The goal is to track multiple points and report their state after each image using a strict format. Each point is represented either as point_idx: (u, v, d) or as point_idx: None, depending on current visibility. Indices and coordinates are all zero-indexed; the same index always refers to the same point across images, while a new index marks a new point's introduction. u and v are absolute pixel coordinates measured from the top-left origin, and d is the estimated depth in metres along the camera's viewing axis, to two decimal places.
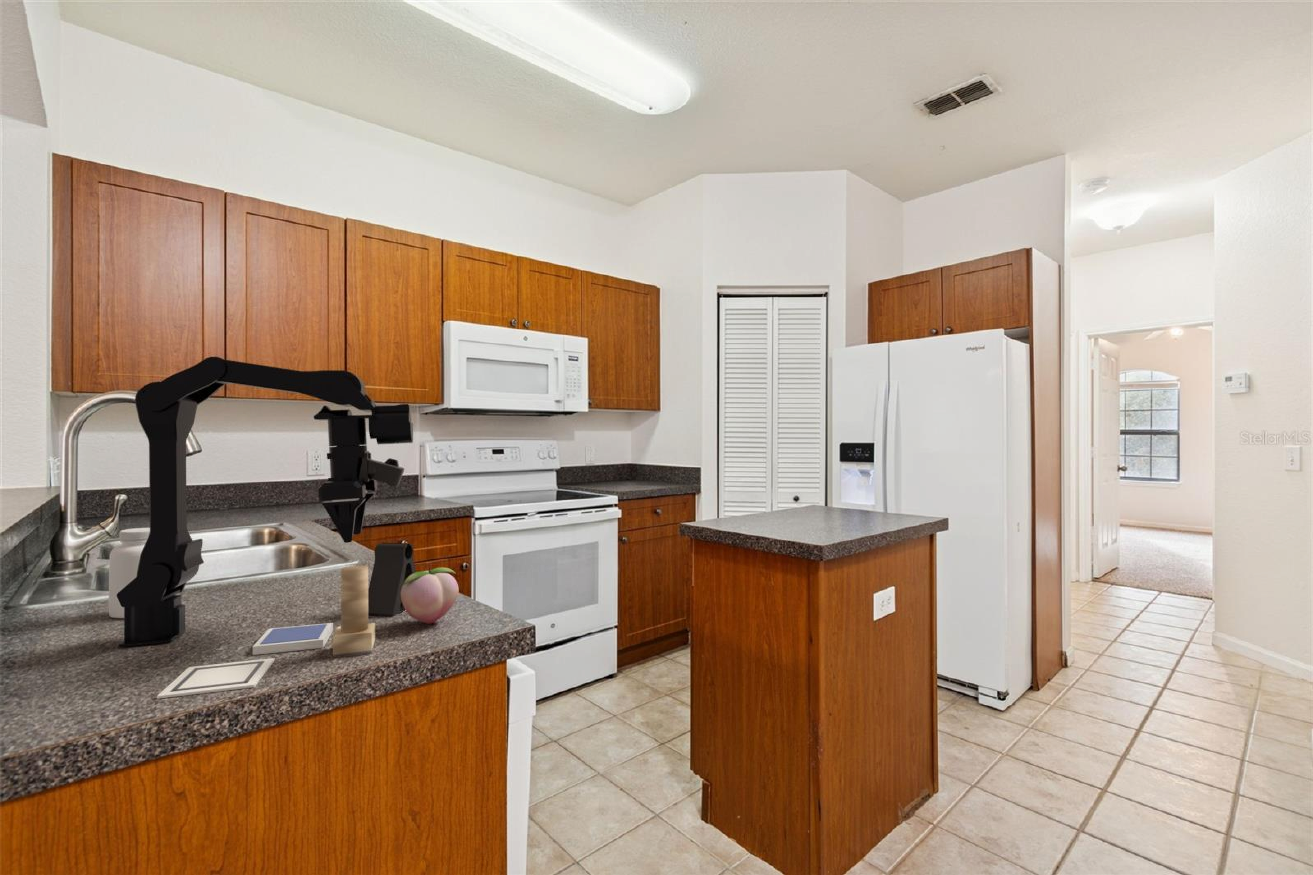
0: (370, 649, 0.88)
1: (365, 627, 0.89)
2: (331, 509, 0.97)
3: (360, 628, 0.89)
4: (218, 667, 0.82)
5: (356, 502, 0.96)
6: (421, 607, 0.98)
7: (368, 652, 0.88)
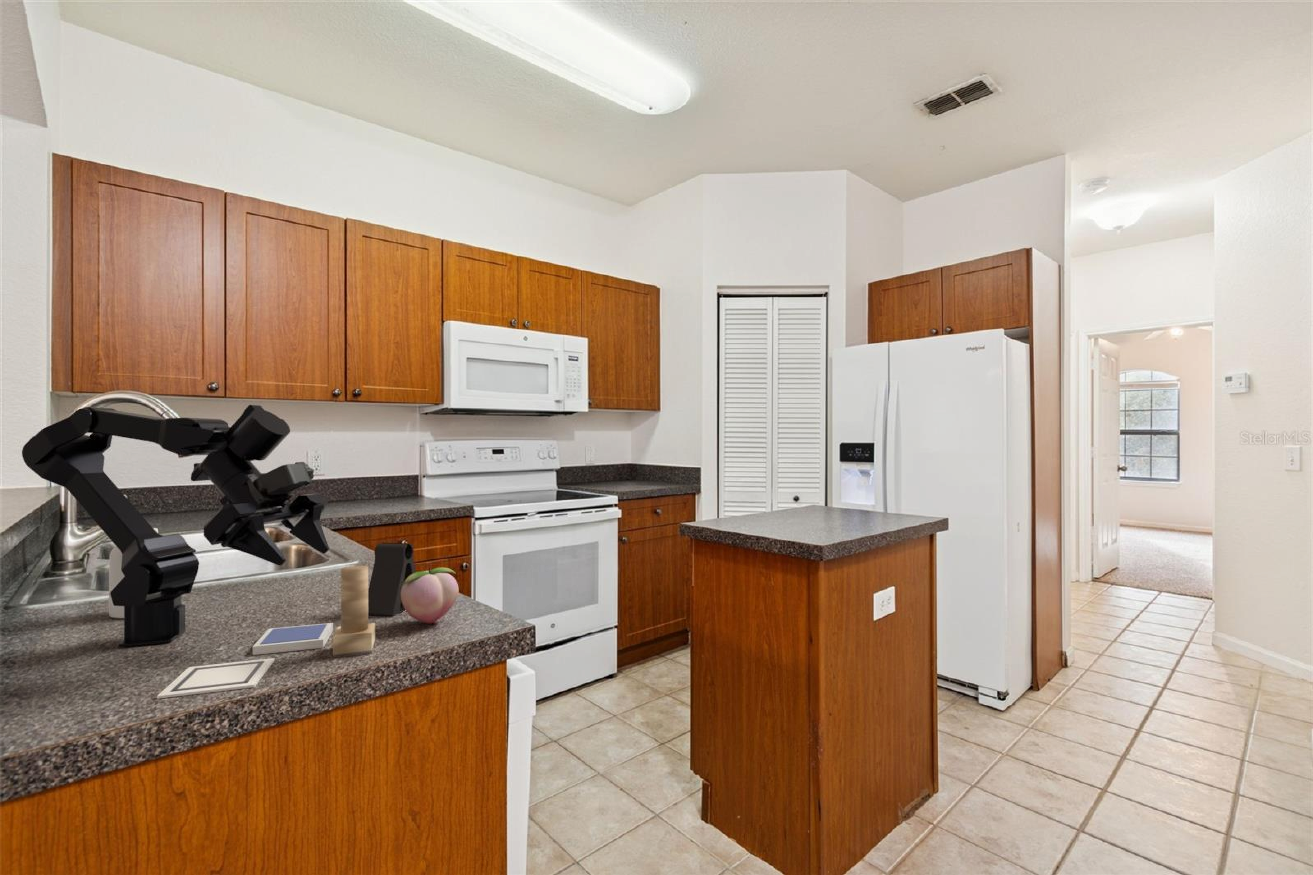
0: (370, 649, 0.88)
1: (365, 627, 0.89)
2: (239, 545, 0.85)
3: (360, 628, 0.89)
4: (218, 667, 0.82)
5: (243, 522, 0.84)
6: (421, 607, 0.98)
7: (368, 652, 0.88)
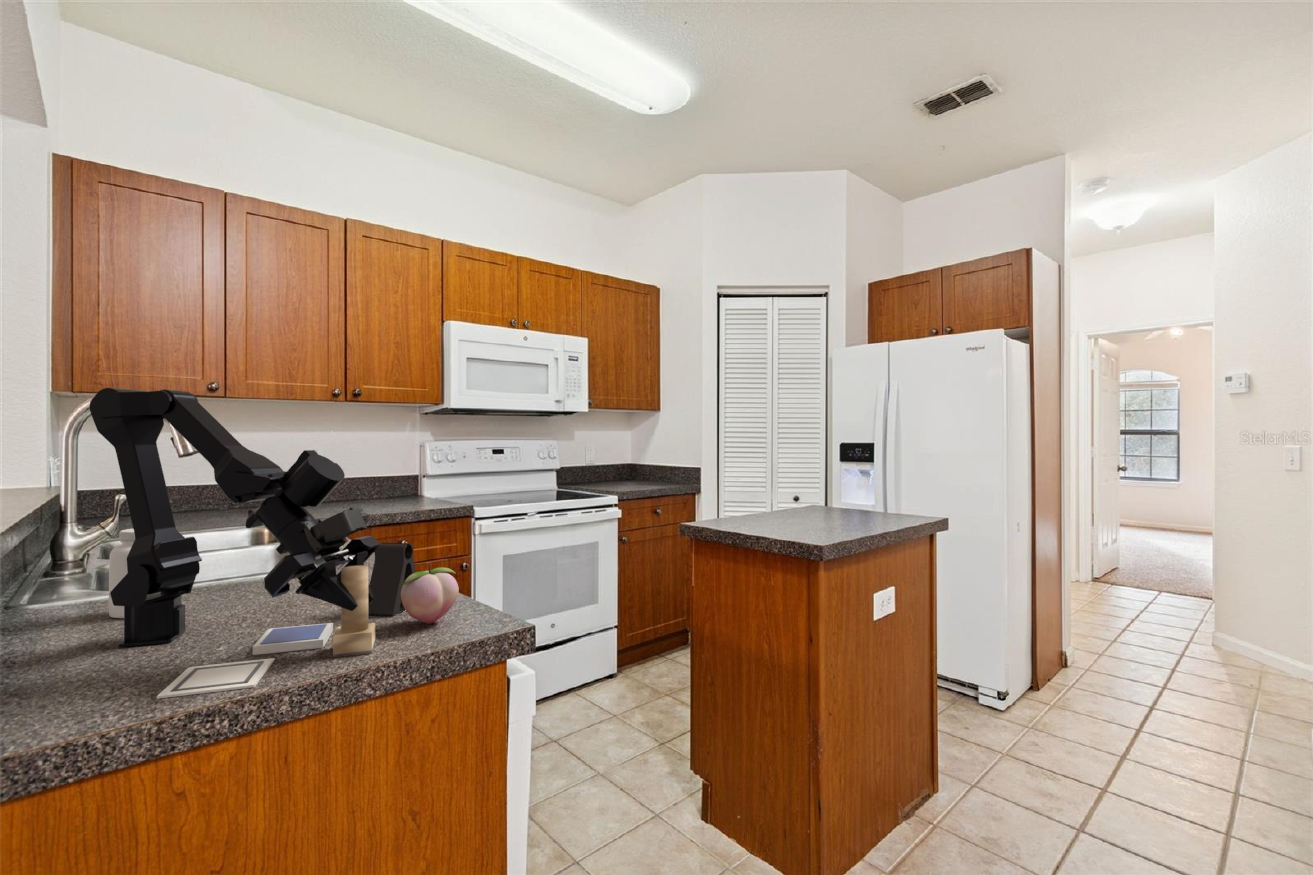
0: (370, 649, 0.88)
1: (365, 627, 0.89)
2: (312, 591, 0.87)
3: (360, 628, 0.89)
4: (218, 667, 0.82)
5: (318, 570, 0.85)
6: (421, 607, 0.98)
7: (368, 652, 0.88)
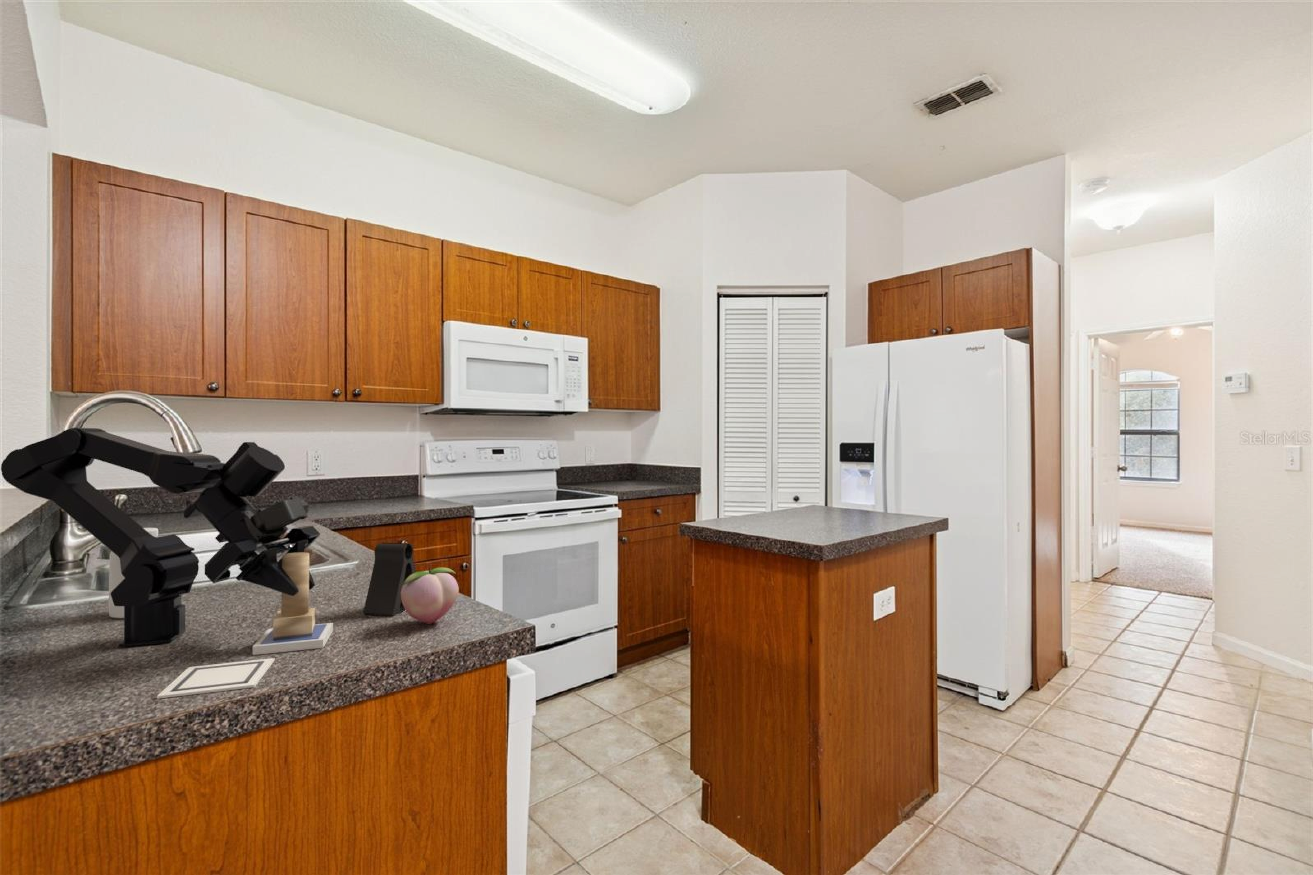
0: (310, 632, 0.92)
1: (305, 611, 0.93)
2: (253, 577, 0.90)
3: (300, 612, 0.92)
4: (218, 667, 0.82)
5: (259, 556, 0.88)
6: (421, 607, 0.98)
7: (308, 635, 0.92)
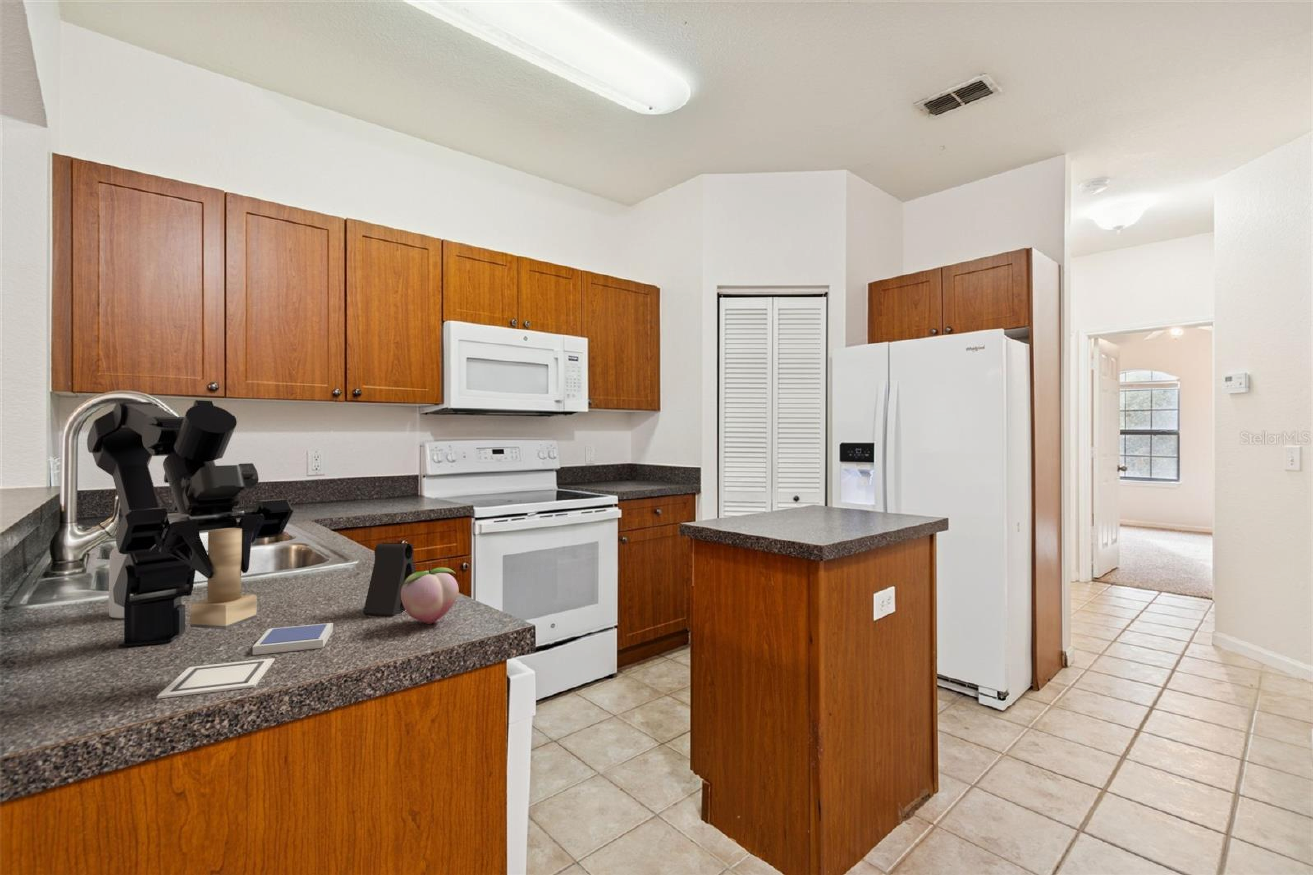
0: (224, 624, 0.77)
1: (229, 598, 0.78)
2: (177, 552, 0.79)
3: (221, 598, 0.78)
4: (218, 667, 0.82)
5: (168, 529, 0.76)
6: (421, 607, 0.98)
7: (222, 627, 0.77)
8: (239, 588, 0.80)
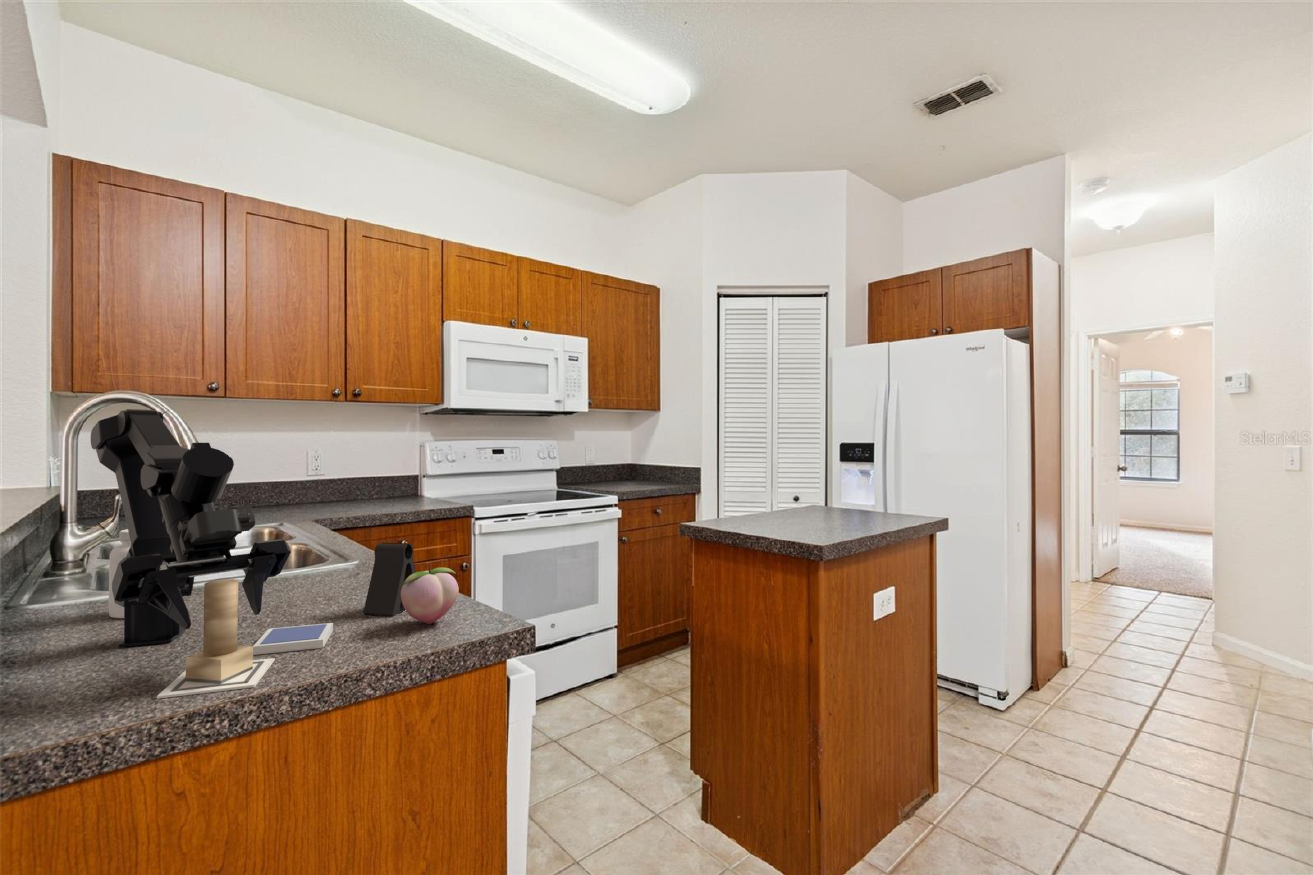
0: (219, 679, 0.76)
1: (225, 651, 0.78)
2: (155, 601, 0.77)
3: (216, 652, 0.78)
4: None
5: (145, 578, 0.74)
6: (421, 607, 0.98)
7: (217, 682, 0.76)
8: (235, 640, 0.79)
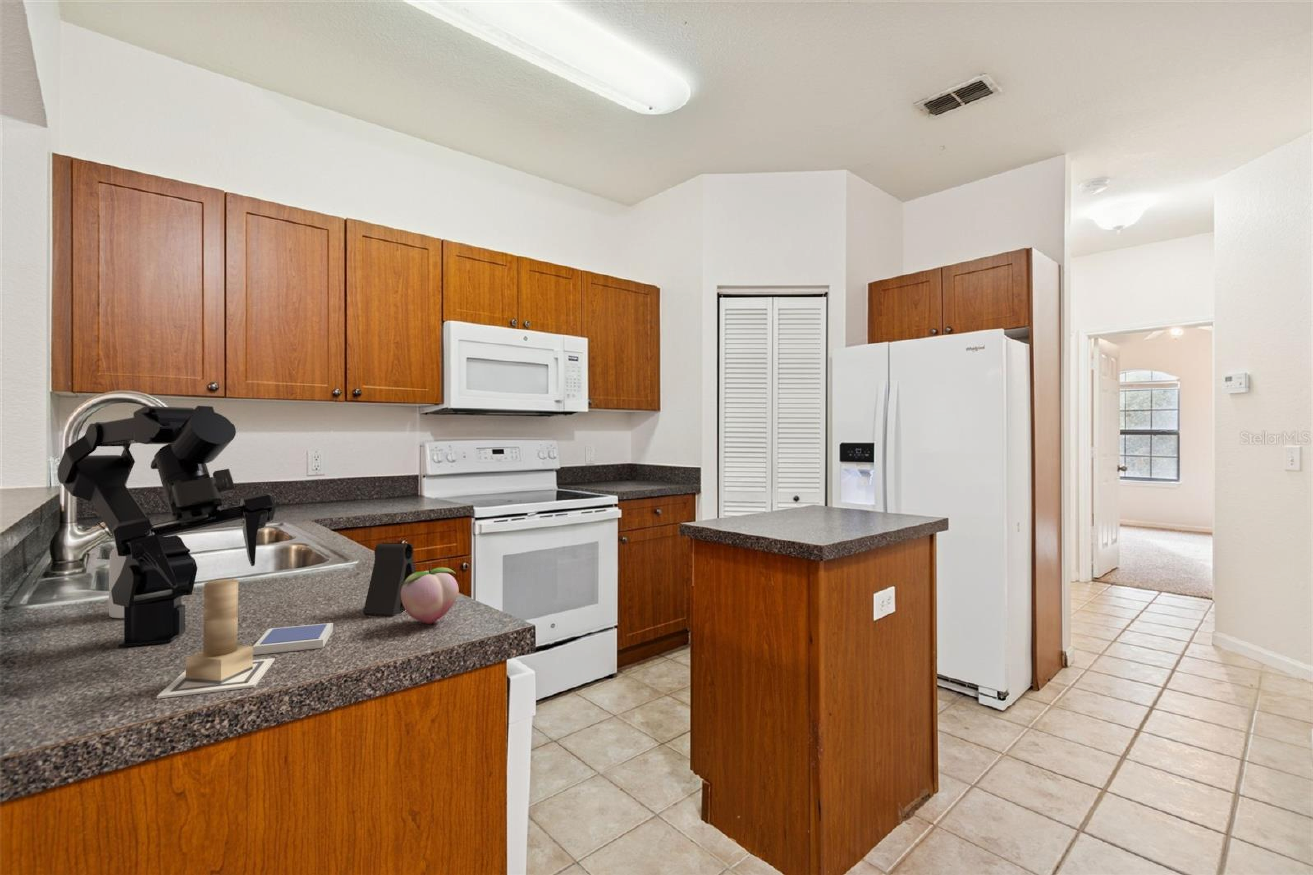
0: (219, 679, 0.76)
1: (225, 651, 0.78)
2: (147, 558, 0.85)
3: (216, 652, 0.78)
4: None
5: (130, 545, 0.81)
6: (421, 607, 0.98)
7: (217, 682, 0.76)
8: (235, 640, 0.79)
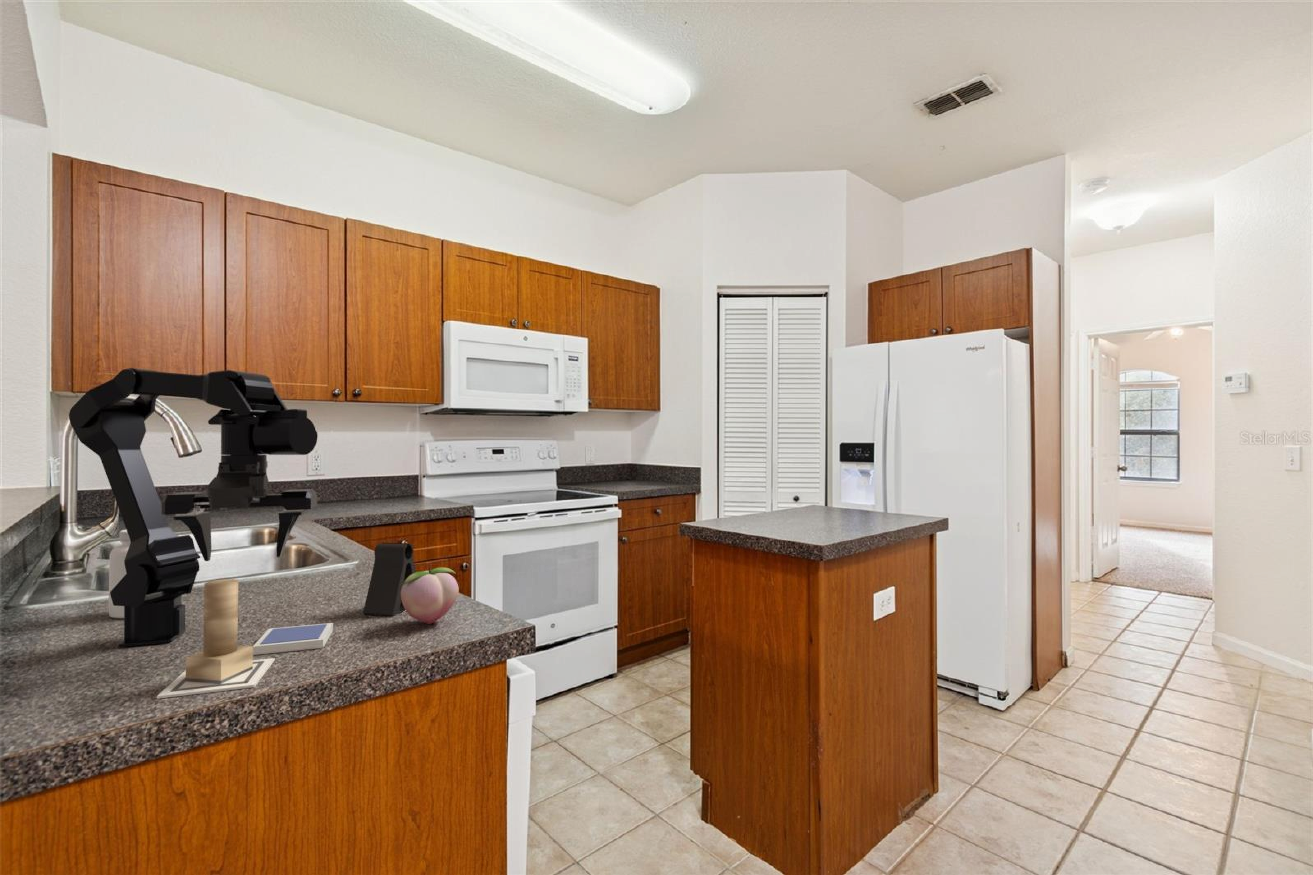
0: (219, 679, 0.76)
1: (225, 651, 0.78)
2: None
3: (216, 652, 0.78)
4: None
5: (174, 518, 0.87)
6: (421, 607, 0.98)
7: (217, 682, 0.76)
8: (235, 640, 0.79)
